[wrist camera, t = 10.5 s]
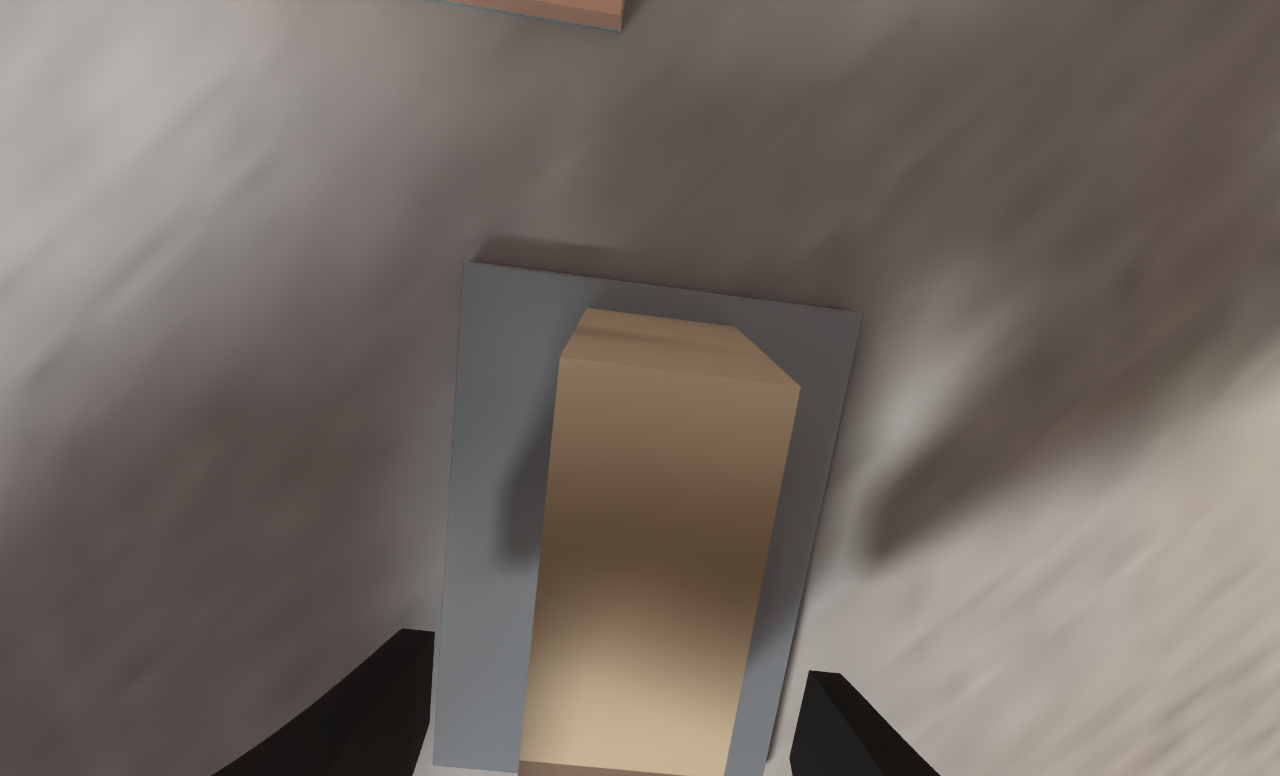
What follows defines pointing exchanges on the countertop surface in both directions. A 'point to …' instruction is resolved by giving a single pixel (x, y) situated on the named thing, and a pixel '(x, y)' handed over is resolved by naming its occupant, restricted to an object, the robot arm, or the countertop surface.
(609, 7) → the tile
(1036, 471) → the countertop surface
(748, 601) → the tall tan prism
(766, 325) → the plate
